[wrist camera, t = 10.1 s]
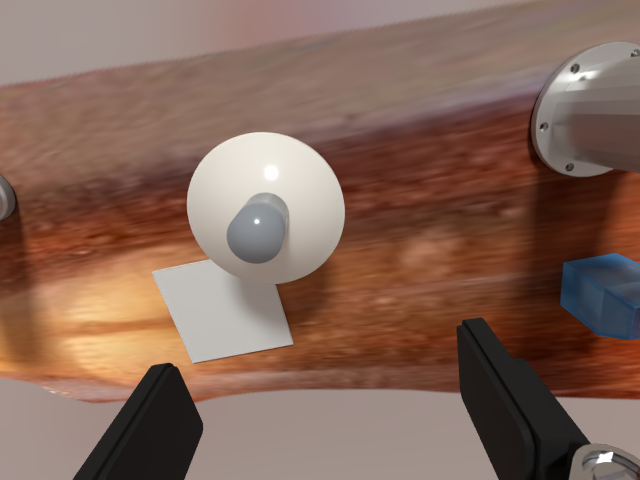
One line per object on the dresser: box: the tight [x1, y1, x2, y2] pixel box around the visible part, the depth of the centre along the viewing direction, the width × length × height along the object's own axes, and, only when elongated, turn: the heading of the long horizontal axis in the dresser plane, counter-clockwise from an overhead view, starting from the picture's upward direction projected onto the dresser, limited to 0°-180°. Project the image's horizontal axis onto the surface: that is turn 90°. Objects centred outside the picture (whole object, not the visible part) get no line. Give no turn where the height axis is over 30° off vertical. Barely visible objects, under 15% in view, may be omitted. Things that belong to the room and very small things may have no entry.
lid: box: [187, 132, 345, 284], centre depth 23 cm, size 12×12×6 cm
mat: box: [152, 259, 293, 363], centre depth 42 cm, size 14×14×1 cm
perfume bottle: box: [560, 253, 640, 340], centre depth 36 cm, size 6×6×12 cm
